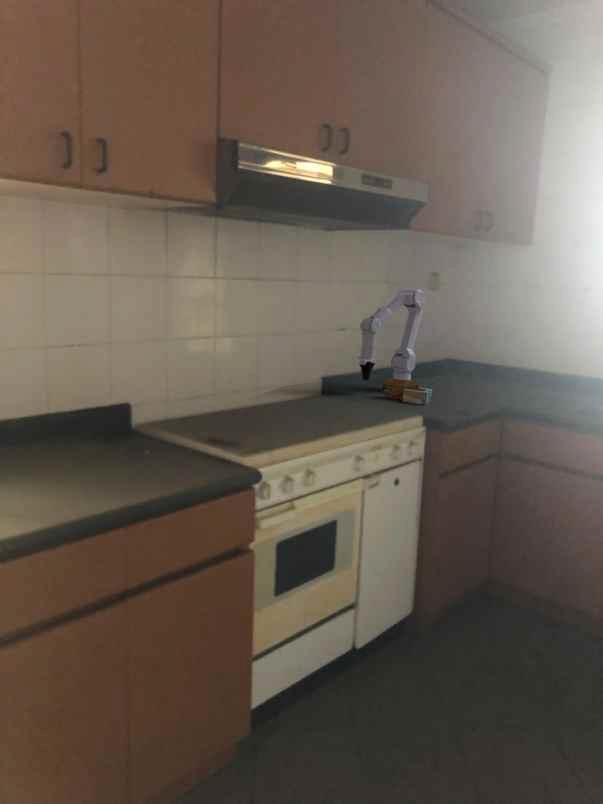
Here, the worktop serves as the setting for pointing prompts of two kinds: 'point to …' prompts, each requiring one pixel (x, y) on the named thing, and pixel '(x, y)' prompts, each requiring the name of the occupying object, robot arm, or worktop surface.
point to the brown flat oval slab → (398, 387)
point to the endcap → (417, 396)
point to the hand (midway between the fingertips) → (365, 379)
